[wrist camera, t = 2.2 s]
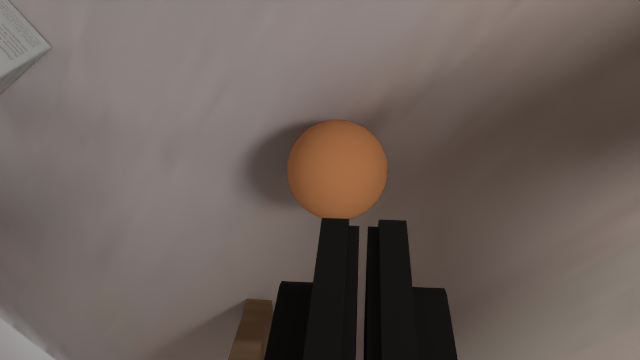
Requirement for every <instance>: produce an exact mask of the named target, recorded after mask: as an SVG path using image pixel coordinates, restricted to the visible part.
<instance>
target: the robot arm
mask: <svg viewBox="0 0 640 360" xmlns="http://www.w3.org/2000/svg"><path fill="white" fill-rule="evenodd" d="M358 252H359V226H349V219H343V218H322V221H321V228H320V236H319V243H318V251H317V258H316V266H315V273H314V280H313V283H311V282H288V281H282V282H281V284H280V287H279V290H278V295H277V300H276V305H275V309H274V314H273V319H272V324H271V328H270V333H269V338H268V343H267V347H266V352H265V357H264V360H355V359H356V327H357V290H358ZM364 360H458V359H457V353H456V347H455V341H454V335H453V329H452V323H451V317H450V311H449V305H448V299H447V294H446V291H445V289H444V288H423V287H412V277H411V266H410V255H409V245H408V234H407V224H406V221H401V220H379V223H378V227H368V239H367V265H366V292H365V319H364Z"/></svg>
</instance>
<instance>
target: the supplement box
mask: <svg viewBox="0 0 640 360" xmlns="http://www.w3.org/2000/svg"><path fill="white" fill-rule="evenodd" d="M50 49H51V47H50V45H49V44H48V43H47V42H46V41H45V40H44V39H43V38H42V37H41V36H40V34H39V33H38V32H37V31H36V30H35V29H34V28H33V27H32V26H31V25H30V24H29V23H28V22H27V20H26V19H25V18H24V17H23V16H22V15H21V14H20V13H19V12H18V11H17V10H16V8H15V7H14V6H13V5H12V4H11V3H10V2H9V1H8V0H0V94H1V93H2V92H3V91H4V90H5V89H6V88H7V87H9V86H10V85H11V84H12V83H13V82H14V81H15V80H17V79H18V78H19V77H20V76H21V75H22V74H23V73H24V72H25V71H27V70H28V69H29V68H30V67H31V66H32V65H33V64H34V63H35V62H37V61H38V60H39V59H40V58H41V57H42V56H43V55H44V54H45V53H46V52H48V51H49V50H50Z"/></svg>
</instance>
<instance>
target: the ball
mask: <svg viewBox="0 0 640 360" xmlns="http://www.w3.org/2000/svg"><path fill="white" fill-rule="evenodd" d="M387 173H388V169H387V160H386V156H385V153H384V150H383V148H382V146H381V144H380V143H379V141H378V140H377V139H376V137H375V136H374V135H373V134H372V133H371V132H370V131H368V130H367V129H366V128H364V127H363V126H361V125H359V124H356V123H353V122H350V121H346V120H329V121H324V122H321V123H318V124H316V125H314V126H312V127H311V128H309V129H308V130H306V131H305V132H304V133H303V134H302V135H301V136H300V137H299V138H298V139H297V141H296V142H295V144H294V145H293V147H292V149H291V151H290V154H289V158H288V163H287V177H288V182H289V185H290V189H291V191H292V193H293V195H294V196H295V198H296V199H297V201H298V202H299V203H300V204H301V205H302V206H303V207H304V208H305V209H306V210H308V211H309V212H310V213H312V214H314V215H316V216H318V217H321V218H343V219H350V218H353V217H356V216H359V215H361V214H362V213H364V212H366V211H367V210H368V209H369V208H371V207H372V206H373V205H374V204H375V203H376V201H377V200H378V199H379V197H380V196H381V194H382V192H383V190H384V187H385V184H386V180H387Z"/></svg>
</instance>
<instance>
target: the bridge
mask: <svg viewBox="0 0 640 360" xmlns="http://www.w3.org/2000/svg"><path fill="white" fill-rule="evenodd" d="M272 319H273V308H272V301H267V300H254V299H247V303H246V306H245V309H244V312H243V315H242V318H241V321H240V324H239V327H238V330H237V334H236V337H235V340H234V343H233V346H232V349H231V352H230V355H229V358H228V360H264V357H265V352H266V347H267V343H268V338H269V333H270V328H271V324H272Z"/></svg>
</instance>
